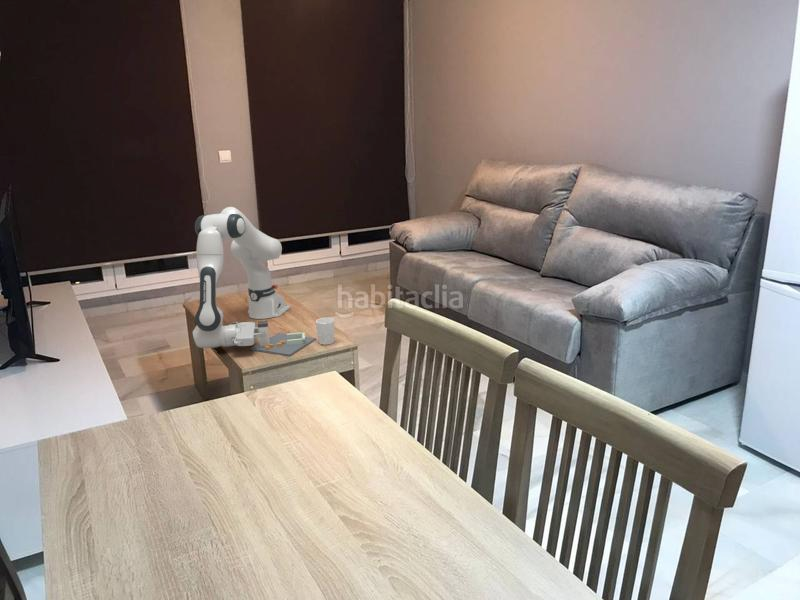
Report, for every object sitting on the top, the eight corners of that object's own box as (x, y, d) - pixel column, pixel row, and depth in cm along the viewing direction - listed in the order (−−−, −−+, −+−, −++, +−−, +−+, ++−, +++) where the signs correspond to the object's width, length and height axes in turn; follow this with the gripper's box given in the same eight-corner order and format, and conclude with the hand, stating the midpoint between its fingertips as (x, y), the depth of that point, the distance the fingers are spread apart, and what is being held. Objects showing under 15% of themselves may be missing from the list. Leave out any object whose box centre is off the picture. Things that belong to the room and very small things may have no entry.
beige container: (260, 343, 284) (257, 321, 281) (270, 342, 284) (267, 320, 281) (260, 346, 280) (257, 324, 277) (269, 345, 280) (267, 323, 277)
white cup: (325, 337, 289) (324, 316, 286) (339, 340, 284) (337, 319, 281) (313, 343, 283) (311, 321, 280) (327, 346, 278) (325, 324, 275)
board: (278, 334, 295) (278, 330, 295) (316, 339, 287) (315, 335, 286) (251, 350, 278) (250, 345, 278) (290, 356, 270) (289, 351, 269)
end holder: (287, 345, 280) (287, 340, 279) (287, 338, 288) (286, 333, 288) (305, 343, 281) (305, 339, 280) (304, 336, 289) (304, 332, 289)
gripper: (230, 336, 268) (264, 333, 270) (233, 320, 287) (265, 317, 289) (231, 351, 270) (265, 347, 272) (235, 334, 289) (267, 331, 291)
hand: (265, 332), depth 280 cm, fingers closed on beige container, 4 cm apart
